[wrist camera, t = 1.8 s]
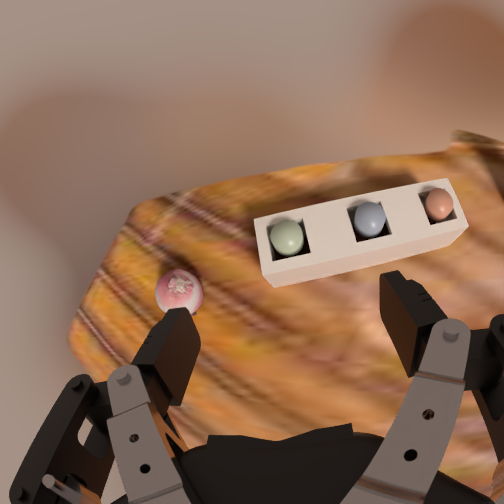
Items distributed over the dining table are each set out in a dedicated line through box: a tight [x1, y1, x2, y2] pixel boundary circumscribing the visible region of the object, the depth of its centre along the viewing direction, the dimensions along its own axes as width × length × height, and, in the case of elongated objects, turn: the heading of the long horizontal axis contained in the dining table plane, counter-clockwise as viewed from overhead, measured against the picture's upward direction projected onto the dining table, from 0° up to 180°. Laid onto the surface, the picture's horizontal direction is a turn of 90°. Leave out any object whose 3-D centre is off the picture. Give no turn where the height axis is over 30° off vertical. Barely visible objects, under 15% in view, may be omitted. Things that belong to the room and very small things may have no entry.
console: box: [254, 178, 469, 288], centre depth 37 cm, size 30×8×8 cm, turn 98°
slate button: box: [354, 202, 386, 238], centre depth 33 cm, size 4×4×2 cm
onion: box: [155, 269, 203, 315], centre depth 42 cm, size 8×8×7 cm
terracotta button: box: [424, 188, 453, 222], centre depth 31 cm, size 4×4×2 cm
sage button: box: [270, 220, 304, 256], centre depth 35 cm, size 4×4×2 cm
